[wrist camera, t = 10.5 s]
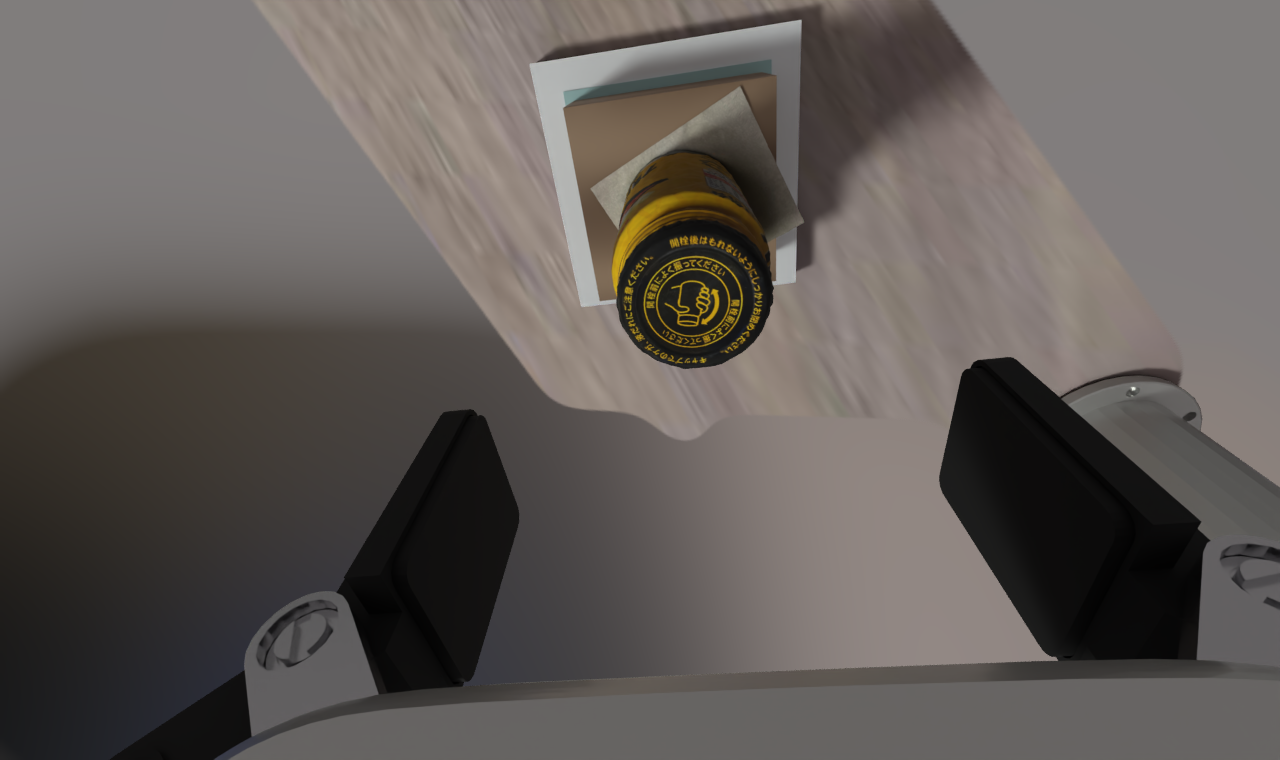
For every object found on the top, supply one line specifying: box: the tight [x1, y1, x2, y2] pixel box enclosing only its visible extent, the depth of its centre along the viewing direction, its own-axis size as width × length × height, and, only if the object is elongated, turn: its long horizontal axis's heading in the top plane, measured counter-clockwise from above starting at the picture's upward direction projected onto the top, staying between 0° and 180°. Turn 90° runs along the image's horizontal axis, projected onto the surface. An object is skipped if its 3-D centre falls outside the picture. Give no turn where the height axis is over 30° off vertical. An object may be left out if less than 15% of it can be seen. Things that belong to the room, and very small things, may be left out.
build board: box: [529, 20, 802, 307], centre depth 31 cm, size 14×14×2 cm
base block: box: [563, 72, 777, 301], centre depth 29 cm, size 10×10×4 cm
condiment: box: [590, 87, 804, 369], centre depth 22 cm, size 7×8×12 cm
